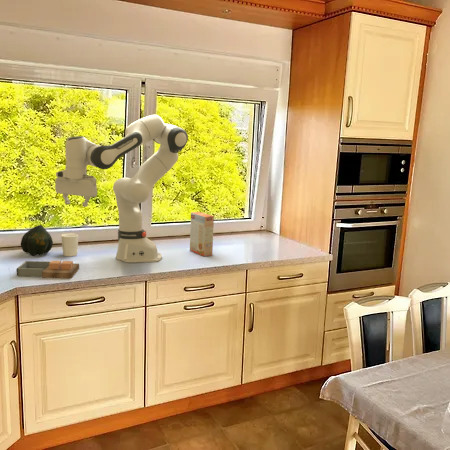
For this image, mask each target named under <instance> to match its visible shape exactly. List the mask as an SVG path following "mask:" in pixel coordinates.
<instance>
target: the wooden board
mask: <svg viewBox="0 0 450 450" xmlns="http://www.w3.org/2000/svg"><path fill="white" fill-rule="evenodd" d="M79 270H80V263H74V262H73V267H72V268H71V269H61V267H60V268H59V269H49V266H48V267H47V268H46V269H45V270H44V271H43V272H42V277H41V278H42V279H73V278H74V276H75V275H76V274H77V272H78V271H79Z"/></svg>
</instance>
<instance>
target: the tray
mask: <svg viewBox="0 0 450 450" xmlns="http://www.w3.org/2000/svg"><path fill="white" fill-rule="evenodd" d="M50 262H51V261H48V260H47V261H44V260H41V261H40V260H39V261H38V260H37V261H36V260H26V261H25V262H23V263H22V264H20V265H19V266H18V267H17V268H16V277H17V276H18V277H17V278H19V277H21V278H22V277H23V278H42V272H43V271H44V270H45V269H46V268H47V267H48V266H49V263H50Z"/></svg>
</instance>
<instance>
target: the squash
mask: <svg viewBox="0 0 450 450" xmlns="http://www.w3.org/2000/svg"><path fill="white" fill-rule="evenodd" d="M53 245H54V242H53V238H52V235H51V234H50V233H49V232H48V230H47V229H46V228H45V226H43V225H42V224H39V225H36V226H34V227H32V228H30V229H29V230H28V231H26V232H25V233H24V234H23V236H22V237H21V240H20V247H21V249H22V251H23V252H24V253H26V254H30V256H33V257H36V256H42V255H44V254H47V253H49V252H50V251H51V249H52V248H53Z"/></svg>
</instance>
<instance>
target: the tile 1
mask: <svg viewBox="0 0 450 450" xmlns="http://www.w3.org/2000/svg"><path fill="white" fill-rule="evenodd" d="M61 263H62V260H51V261H50V263H49V269H59V268H60V267H61Z"/></svg>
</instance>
